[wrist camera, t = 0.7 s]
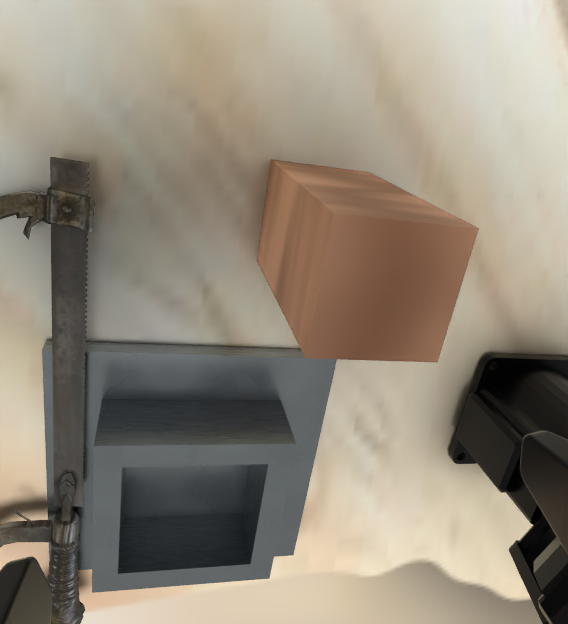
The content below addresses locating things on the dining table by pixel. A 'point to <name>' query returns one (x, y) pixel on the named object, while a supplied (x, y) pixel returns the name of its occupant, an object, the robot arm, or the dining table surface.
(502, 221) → the dining table surface
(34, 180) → the dining table surface
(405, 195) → the pin
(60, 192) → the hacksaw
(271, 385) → the socket block
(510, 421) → the robot arm
